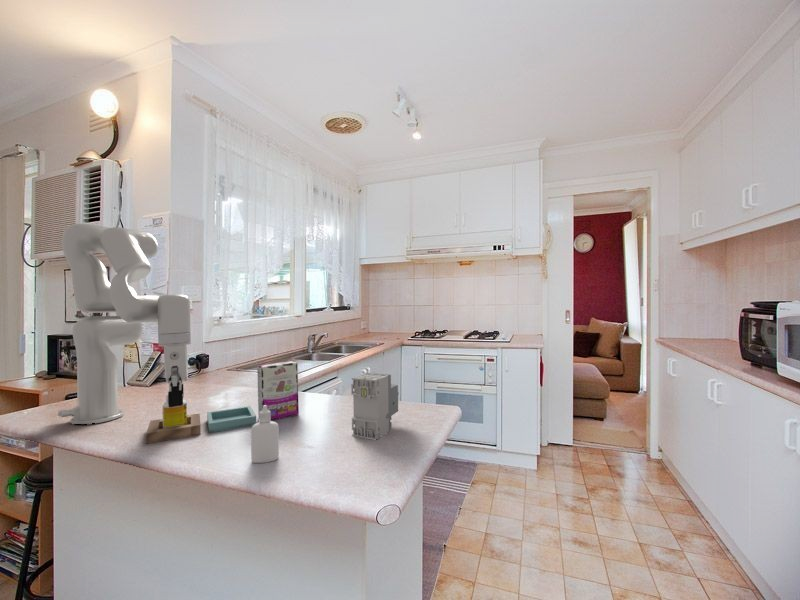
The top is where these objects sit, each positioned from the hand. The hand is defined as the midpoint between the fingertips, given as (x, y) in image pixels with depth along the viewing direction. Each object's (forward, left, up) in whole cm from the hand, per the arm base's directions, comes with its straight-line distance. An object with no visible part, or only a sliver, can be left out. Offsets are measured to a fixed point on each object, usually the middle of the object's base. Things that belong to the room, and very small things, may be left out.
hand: (176, 402), depth 98 cm
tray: (+14, +1, -8) cm, 16 cm away
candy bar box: (+27, -1, -8) cm, 28 cm away
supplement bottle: (0, +1, -8) cm, 8 cm away
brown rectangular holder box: (0, +1, -8) cm, 8 cm away
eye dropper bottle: (+18, -31, -8) cm, 37 cm away
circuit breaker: (+48, -27, -8) cm, 56 cm away
